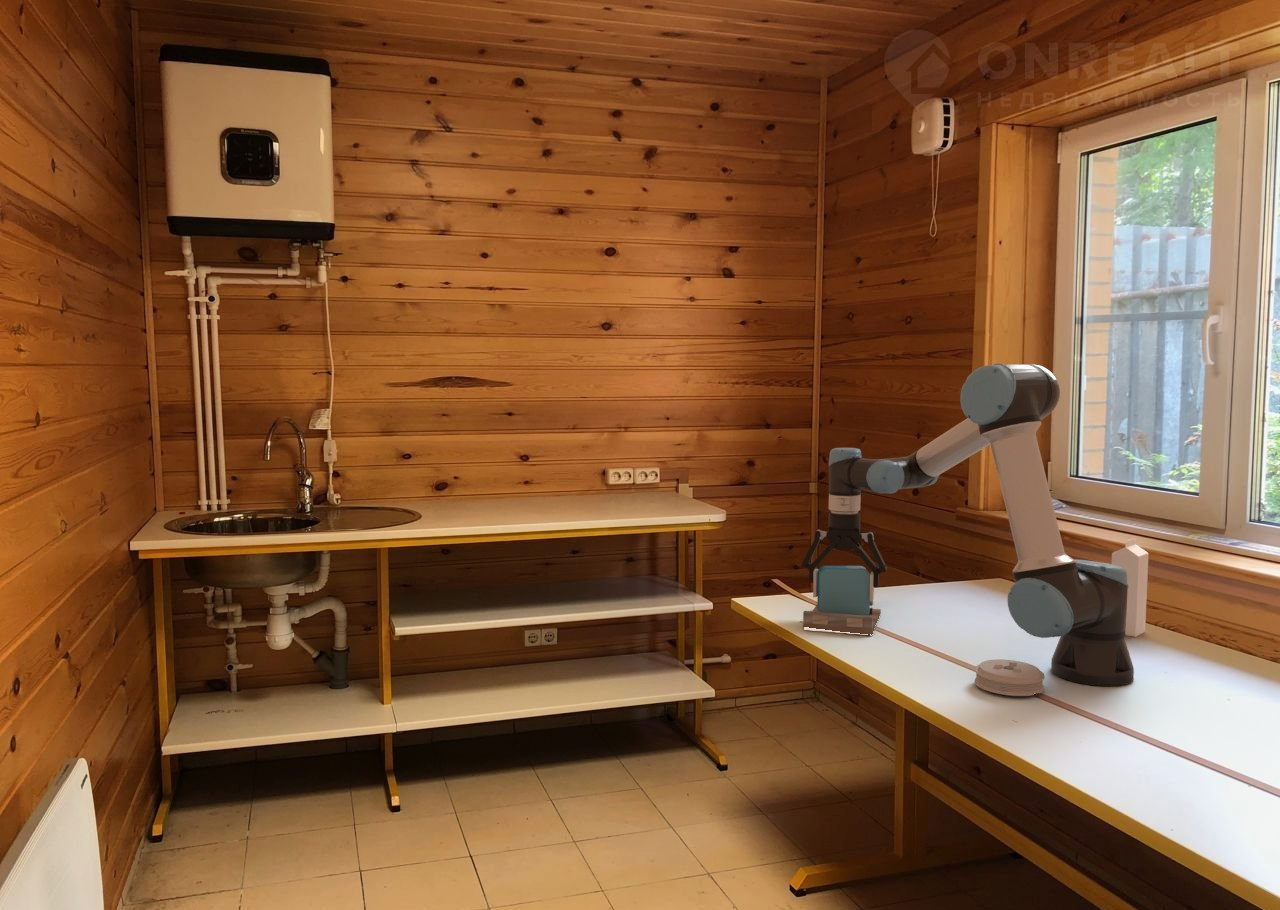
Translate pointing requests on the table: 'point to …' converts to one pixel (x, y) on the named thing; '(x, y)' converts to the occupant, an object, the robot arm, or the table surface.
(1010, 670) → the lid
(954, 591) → the table surface
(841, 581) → the teal rounded flat block
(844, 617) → the brown tray
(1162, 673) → the table surface
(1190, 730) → the table surface
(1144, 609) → the milk
